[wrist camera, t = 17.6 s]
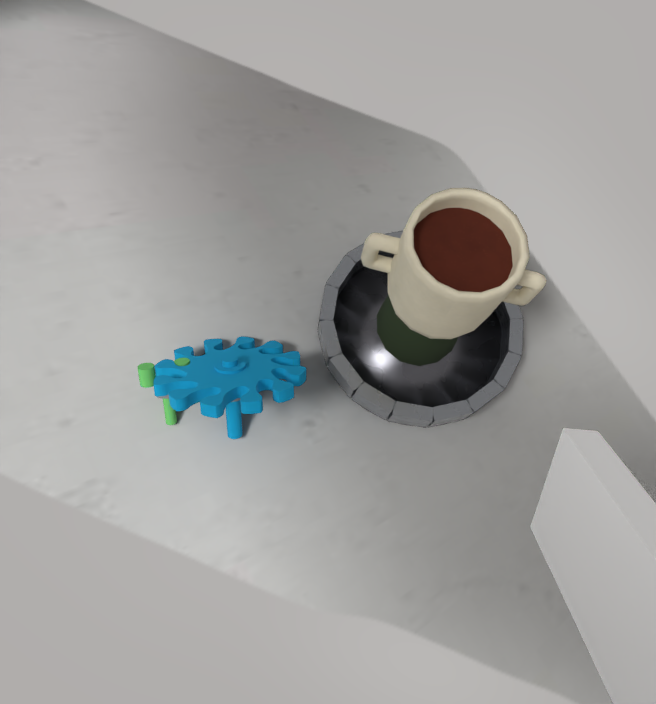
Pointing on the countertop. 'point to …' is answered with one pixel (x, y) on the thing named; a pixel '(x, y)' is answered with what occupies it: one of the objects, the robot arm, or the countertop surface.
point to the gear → (224, 379)
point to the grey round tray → (402, 378)
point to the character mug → (449, 272)
